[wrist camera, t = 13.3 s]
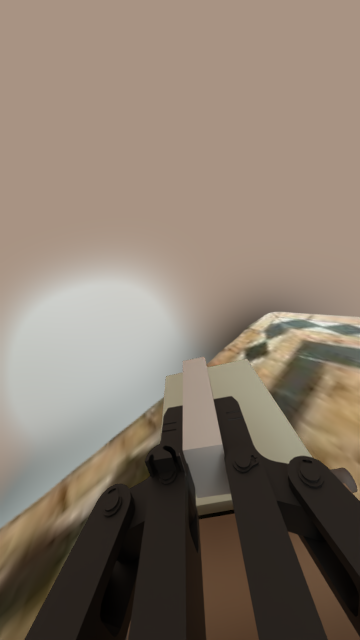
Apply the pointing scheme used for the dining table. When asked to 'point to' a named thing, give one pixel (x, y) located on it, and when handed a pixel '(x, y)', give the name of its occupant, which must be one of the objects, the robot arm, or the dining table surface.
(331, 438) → the dining table surface
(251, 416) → the panel
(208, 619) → the flatbed cart
